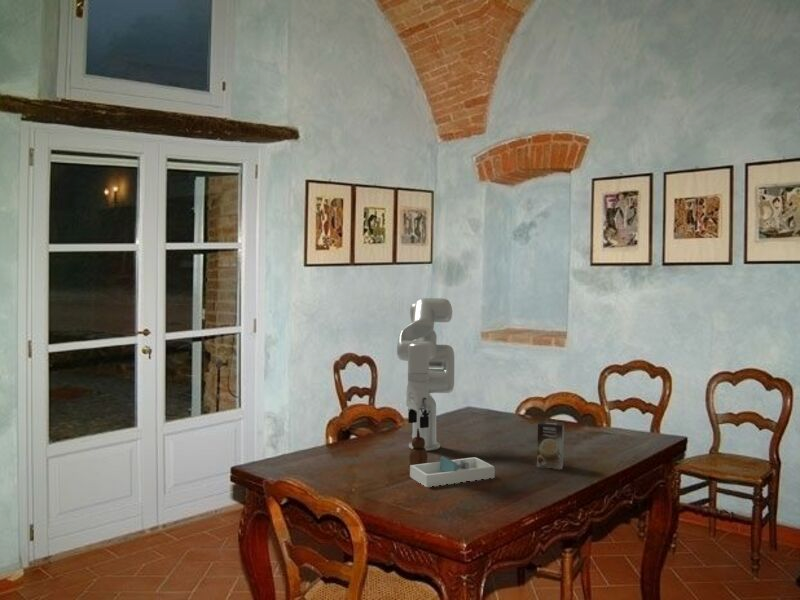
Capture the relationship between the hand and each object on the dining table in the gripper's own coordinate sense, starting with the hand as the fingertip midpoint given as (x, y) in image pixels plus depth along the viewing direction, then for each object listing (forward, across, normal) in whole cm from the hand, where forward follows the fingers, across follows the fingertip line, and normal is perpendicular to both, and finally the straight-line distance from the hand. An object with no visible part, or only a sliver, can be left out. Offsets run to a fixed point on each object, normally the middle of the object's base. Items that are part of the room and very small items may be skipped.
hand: (418, 425), depth 251 cm
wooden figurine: (+16, -1, 0) cm, 16 cm away
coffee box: (+16, +16, +46) cm, 51 cm away
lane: (+16, +14, +6) cm, 22 cm away
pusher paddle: (+15, +14, +8) cm, 22 cm away
